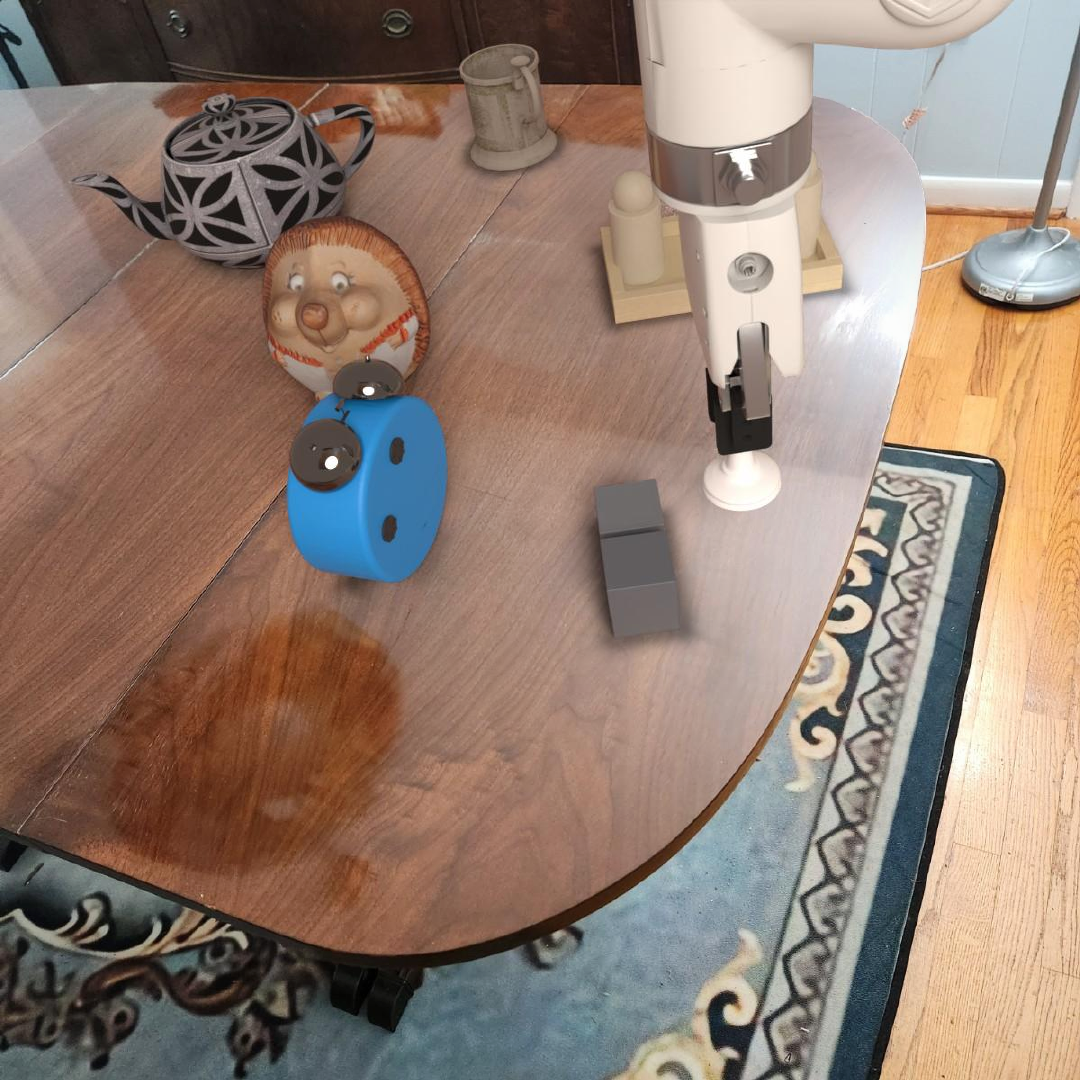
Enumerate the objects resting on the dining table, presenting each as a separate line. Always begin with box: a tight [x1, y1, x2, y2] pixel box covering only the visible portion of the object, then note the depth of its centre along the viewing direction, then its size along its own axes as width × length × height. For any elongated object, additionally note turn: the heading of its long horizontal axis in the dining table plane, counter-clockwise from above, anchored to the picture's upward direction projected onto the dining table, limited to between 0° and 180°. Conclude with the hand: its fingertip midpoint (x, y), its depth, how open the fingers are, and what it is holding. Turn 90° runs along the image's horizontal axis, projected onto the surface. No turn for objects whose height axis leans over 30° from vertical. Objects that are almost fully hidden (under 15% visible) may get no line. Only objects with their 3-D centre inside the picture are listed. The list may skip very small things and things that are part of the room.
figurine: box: [261, 215, 431, 403], centre depth 85 cm, size 14×16×15 cm
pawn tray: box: [599, 148, 845, 325], centre depth 89 cm, size 20×12×11 cm, turn 93°
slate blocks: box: [593, 478, 680, 639], centre depth 69 cm, size 4×10×5 cm, turn 3°
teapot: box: [68, 92, 376, 270], centre depth 103 cm, size 19×31×15 cm, turn 112°
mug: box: [458, 43, 558, 172], centre depth 108 cm, size 14×10×12 cm
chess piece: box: [701, 376, 783, 512], centre depth 60 cm, size 5×5×10 cm
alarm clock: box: [286, 355, 448, 584], centre depth 70 cm, size 13×6×15 cm, turn 162°
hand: (739, 430), depth 61 cm, fingers closed on chess piece
